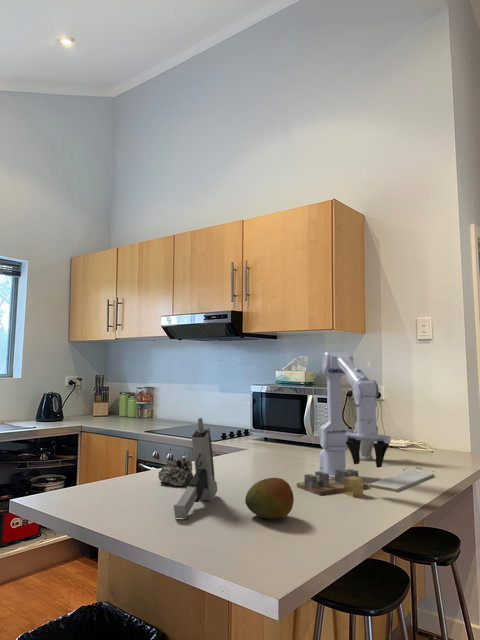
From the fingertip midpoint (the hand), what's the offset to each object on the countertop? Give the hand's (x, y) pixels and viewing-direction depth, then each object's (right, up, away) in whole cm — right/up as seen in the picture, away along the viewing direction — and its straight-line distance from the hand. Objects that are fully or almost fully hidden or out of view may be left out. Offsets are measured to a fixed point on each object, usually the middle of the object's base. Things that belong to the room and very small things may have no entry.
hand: (367, 465), depth 146 cm
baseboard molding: (+16, -12, +18) cm, 27 cm away
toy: (+15, -15, +57) cm, 61 cm away
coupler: (-4, -9, -1) cm, 10 cm away
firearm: (-51, -7, -14) cm, 53 cm away
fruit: (-31, -6, -24) cm, 40 cm away
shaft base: (-9, -10, +8) cm, 15 cm away
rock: (-60, -10, +13) cm, 62 cm away
